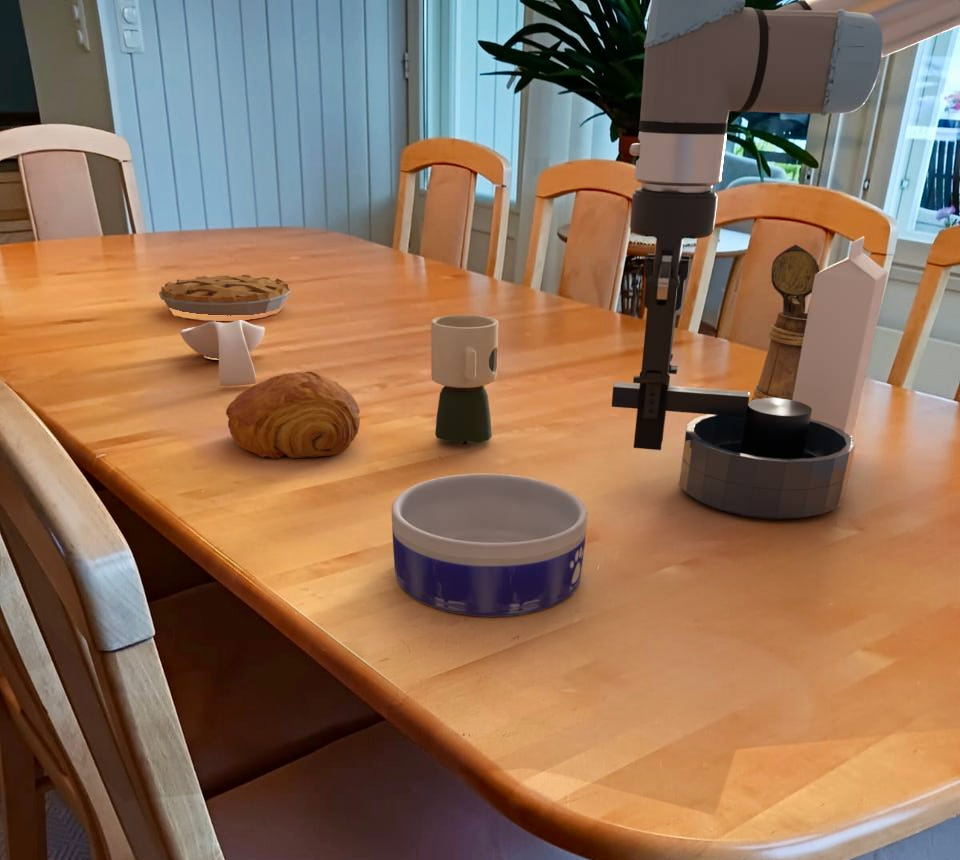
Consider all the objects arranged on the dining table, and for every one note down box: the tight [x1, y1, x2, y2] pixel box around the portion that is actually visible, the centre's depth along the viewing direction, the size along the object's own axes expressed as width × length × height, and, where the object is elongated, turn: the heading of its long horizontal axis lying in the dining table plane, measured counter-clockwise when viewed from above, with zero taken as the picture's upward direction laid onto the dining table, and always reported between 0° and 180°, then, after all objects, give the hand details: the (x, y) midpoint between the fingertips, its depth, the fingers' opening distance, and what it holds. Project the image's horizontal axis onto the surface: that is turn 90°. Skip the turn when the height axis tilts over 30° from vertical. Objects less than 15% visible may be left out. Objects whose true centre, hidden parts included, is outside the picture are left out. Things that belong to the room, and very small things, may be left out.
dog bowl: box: [391, 473, 588, 618], centre depth 77 cm, size 15×15×6 cm
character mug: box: [430, 314, 499, 446], centre depth 105 cm, size 11×7×13 cm, turn 9°
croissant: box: [225, 371, 361, 460], centre depth 106 cm, size 14×16×8 cm
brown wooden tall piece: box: [751, 244, 820, 401], centre depth 121 cm, size 9×14×18 cm, turn 178°
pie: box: [158, 274, 292, 316], centre depth 167 cm, size 22×22×5 cm
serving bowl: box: [678, 414, 856, 520], centre depth 94 cm, size 16×16×6 cm
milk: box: [792, 236, 889, 438], centre depth 102 cm, size 6×6×22 cm
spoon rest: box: [179, 320, 266, 387], centre depth 134 cm, size 24×12×7 cm, turn 19°
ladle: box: [611, 381, 812, 459], centre depth 96 cm, size 19×6×6 cm, turn 78°
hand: (648, 443), depth 98 cm, fingers closed on ladle, 2 cm apart
